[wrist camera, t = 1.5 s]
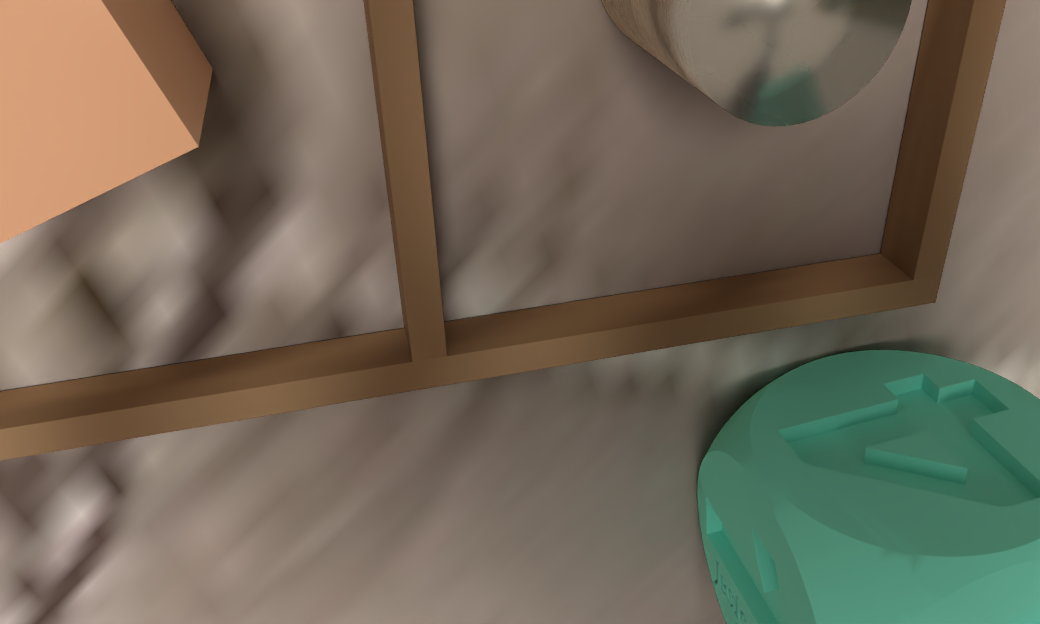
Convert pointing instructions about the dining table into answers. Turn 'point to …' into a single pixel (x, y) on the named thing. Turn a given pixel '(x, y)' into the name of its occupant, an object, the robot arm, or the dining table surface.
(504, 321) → the walnut rack
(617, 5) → the grey metal canister
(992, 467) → the teal round container
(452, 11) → the dining table surface
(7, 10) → the terracotta block
